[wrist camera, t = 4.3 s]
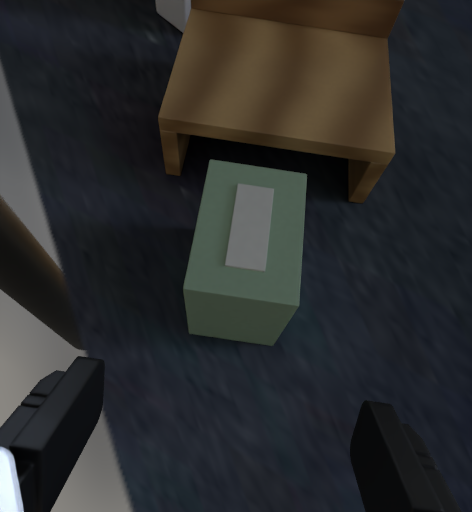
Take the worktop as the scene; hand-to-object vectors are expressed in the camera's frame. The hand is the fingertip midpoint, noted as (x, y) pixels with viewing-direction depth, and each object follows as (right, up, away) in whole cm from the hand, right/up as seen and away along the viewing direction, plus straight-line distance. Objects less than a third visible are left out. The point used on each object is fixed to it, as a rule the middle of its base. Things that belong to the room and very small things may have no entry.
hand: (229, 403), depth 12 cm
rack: (+3, +16, +22) cm, 27 cm away
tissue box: (0, +3, +15) cm, 16 cm away
